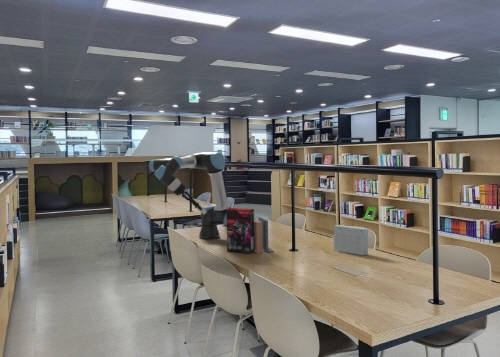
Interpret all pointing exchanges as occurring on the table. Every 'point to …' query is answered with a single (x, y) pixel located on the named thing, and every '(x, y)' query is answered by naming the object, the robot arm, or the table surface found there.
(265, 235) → the bookend
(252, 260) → the table surface
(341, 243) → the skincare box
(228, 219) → the graphics card box
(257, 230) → the book
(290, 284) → the table surface
